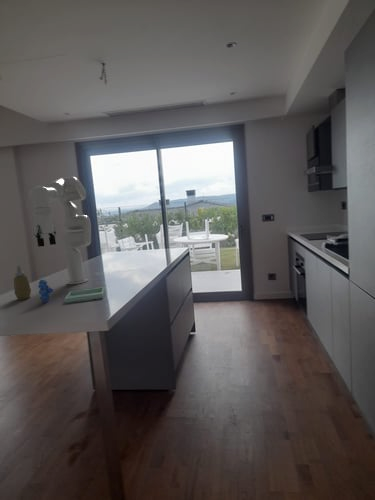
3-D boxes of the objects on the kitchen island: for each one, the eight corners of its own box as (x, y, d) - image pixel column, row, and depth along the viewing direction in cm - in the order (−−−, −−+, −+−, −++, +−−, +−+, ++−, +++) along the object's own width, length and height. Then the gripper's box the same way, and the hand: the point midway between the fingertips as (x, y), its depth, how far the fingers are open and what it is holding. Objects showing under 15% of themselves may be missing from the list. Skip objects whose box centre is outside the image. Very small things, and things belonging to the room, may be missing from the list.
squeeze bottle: (25, 300, 176) (19, 267, 173) (12, 300, 177) (6, 267, 175) (35, 296, 183) (30, 264, 181) (22, 296, 185) (17, 264, 183)
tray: (70, 296, 175) (69, 291, 175) (105, 291, 178) (104, 287, 178) (65, 303, 162) (64, 298, 161) (102, 298, 164) (102, 293, 164)
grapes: (52, 304, 163) (49, 280, 161) (38, 306, 162) (34, 282, 160) (56, 297, 174) (53, 275, 173) (43, 299, 173) (39, 277, 171)
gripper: (46, 212, 177) (50, 244, 179) (24, 212, 160) (29, 247, 162) (59, 211, 175) (63, 243, 177) (38, 210, 159) (43, 246, 160)
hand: (47, 245), depth 169 cm, fingers open, 9 cm apart
